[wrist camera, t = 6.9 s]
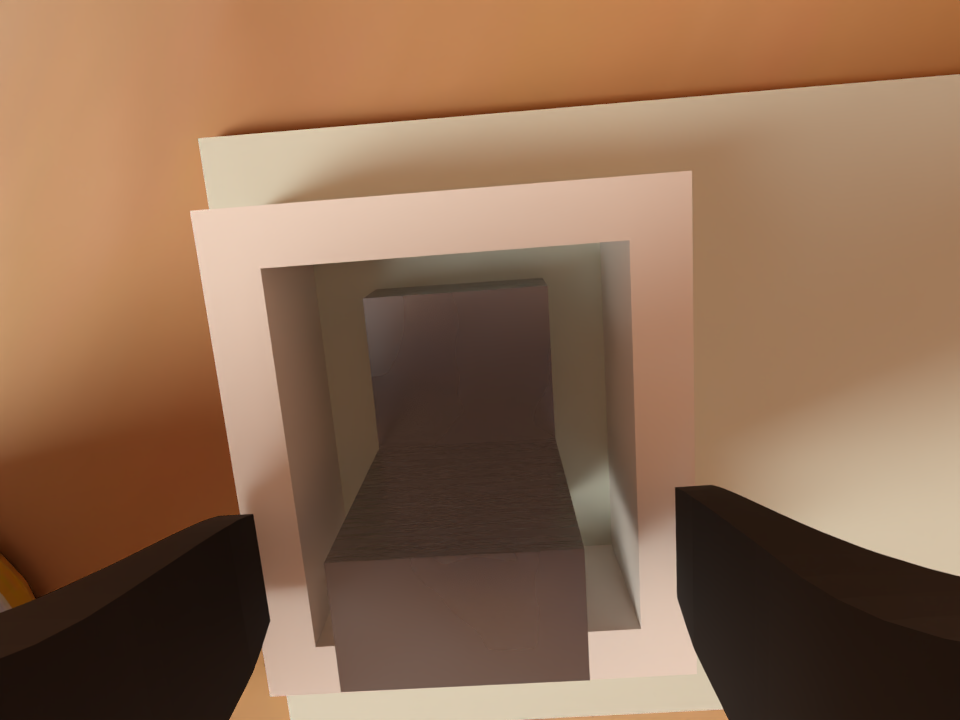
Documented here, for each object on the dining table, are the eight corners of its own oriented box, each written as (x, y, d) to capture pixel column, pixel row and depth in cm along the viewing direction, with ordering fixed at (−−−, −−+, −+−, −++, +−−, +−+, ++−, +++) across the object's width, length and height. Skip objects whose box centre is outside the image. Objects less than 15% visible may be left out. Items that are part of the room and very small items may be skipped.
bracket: (553, 500, 15) (589, 680, 10) (399, 509, 15) (340, 692, 10) (542, 277, 14) (574, 326, 8) (376, 289, 14) (294, 344, 9)
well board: (1024, 676, 17) (1174, 809, 13) (299, 713, 17) (246, 850, 14) (1089, 67, 14) (1309, 14, 10) (210, 141, 14) (111, 118, 11)
